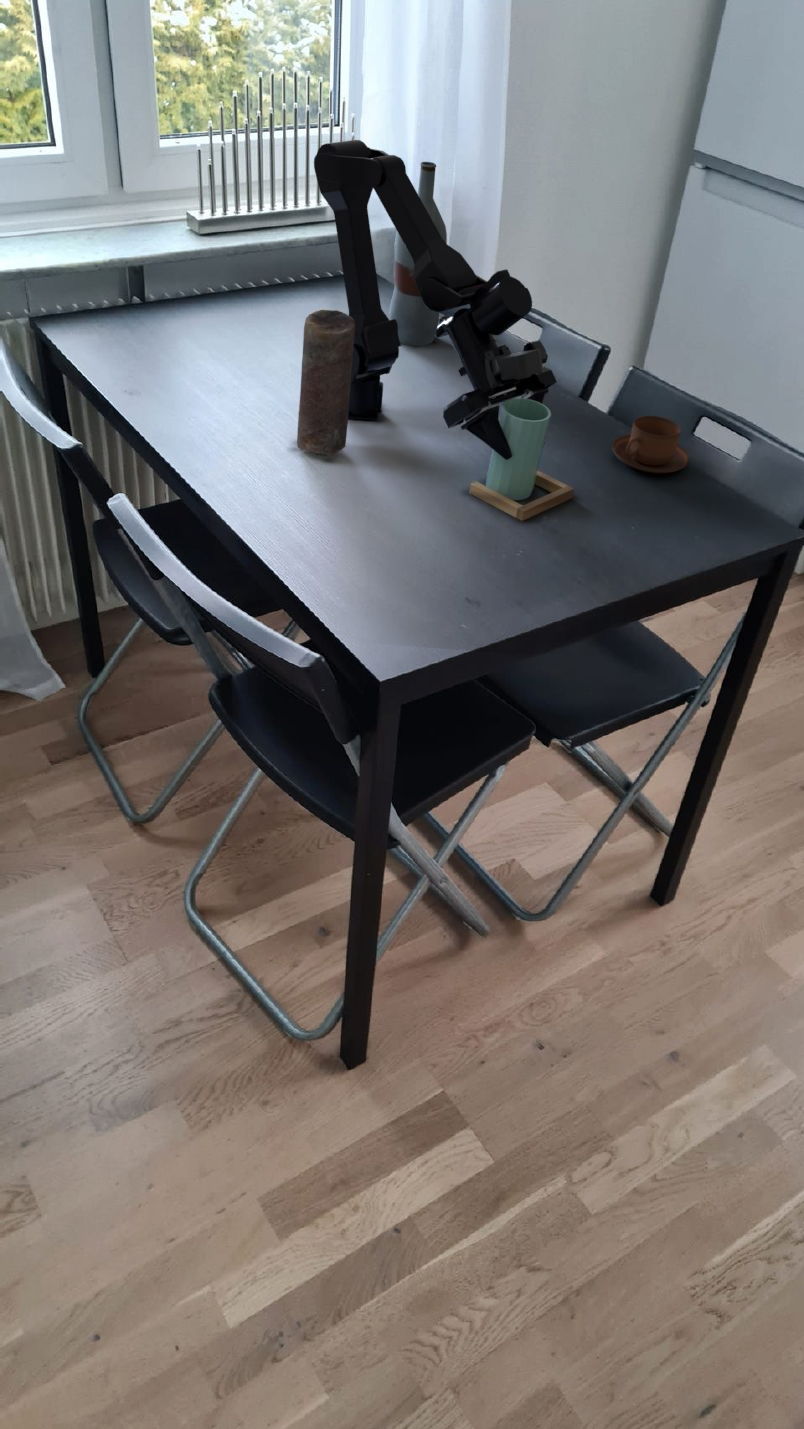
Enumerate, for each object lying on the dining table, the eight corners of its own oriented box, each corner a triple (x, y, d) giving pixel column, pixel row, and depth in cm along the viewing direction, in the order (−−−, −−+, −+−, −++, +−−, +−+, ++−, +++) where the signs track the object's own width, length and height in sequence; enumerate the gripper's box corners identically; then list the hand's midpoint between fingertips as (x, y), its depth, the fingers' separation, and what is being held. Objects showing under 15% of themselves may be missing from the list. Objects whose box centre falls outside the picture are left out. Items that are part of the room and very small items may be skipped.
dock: (469, 493, 161) (470, 483, 160) (520, 472, 168) (521, 462, 167) (522, 521, 156) (523, 511, 155) (572, 498, 163) (574, 488, 162)
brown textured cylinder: (354, 446, 170) (362, 315, 157) (336, 465, 164) (343, 331, 152) (308, 435, 172) (312, 305, 159) (288, 454, 166) (292, 320, 154)
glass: (486, 497, 160) (503, 417, 152) (484, 473, 166) (500, 395, 157) (533, 503, 161) (553, 424, 153) (529, 479, 166) (548, 401, 158)
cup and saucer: (670, 488, 168) (680, 450, 164) (598, 463, 173) (606, 426, 169) (697, 461, 177) (707, 425, 173) (628, 438, 181) (636, 402, 177)
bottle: (379, 339, 205) (392, 163, 187) (398, 325, 212) (413, 153, 193) (426, 351, 203) (444, 174, 184) (443, 336, 210) (463, 163, 191)
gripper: (469, 336, 145) (520, 446, 146) (558, 310, 156) (604, 413, 157) (420, 375, 154) (468, 477, 155) (507, 348, 165) (552, 444, 166)
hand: (525, 452), depth 158 cm, fingers closed on glass, 7 cm apart
